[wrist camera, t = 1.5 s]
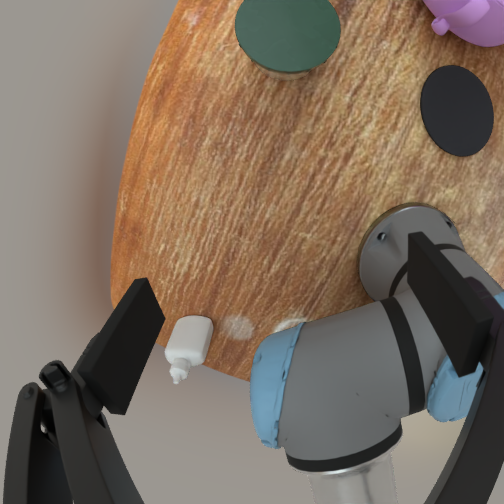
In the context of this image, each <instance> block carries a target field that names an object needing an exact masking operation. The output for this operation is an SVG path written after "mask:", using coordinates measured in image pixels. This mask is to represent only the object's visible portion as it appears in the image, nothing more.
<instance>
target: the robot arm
mask: <svg viewBox="0 0 504 504" xmlns="http://www.w3.org/2000/svg"><path fill="white" fill-rule="evenodd" d="M452 221H453V220H452ZM452 221H451V220H450V219H449V218H448V217H447V215H446V214H445V213H444V212H443V213H442V212H441V211H440V210H438V209H437V208H435V207H433V206H431V205H428V204H425V203H406V204H402V205H399V206H396V207H394V208H392V209H390V210H388V211H387V212H385V213H384V214H382V215H381V216H380V217H379V218H378V219H377V220H376V221H375V222H374V223H373V224H372V225H371V226H370V228H369V229H368V230H367V232H366V234H365V235H364V237H363V239H362V242H361V244H360V247H359V251H358V257H357V269H358V274H359V277H360V280H361V282H362V285H363V287H364V289H365V291H366V292H367V294H368V295H369V296H370V297H371V298H372V299H373V300H374V301H375V302H373V303H370V304H367V305H364V306H361V307H357V308H354V309H351V310H348V311H345V312H342V313H338V314H335V315H332V316H328V317H325V318H322V319H318V320H315V321H311V322H308V323H306V322H302V323H299V324H298V326H295V327H292V328H289V329H286V330H283V331H280V332H277V333H273V334H271V335H269V336H267V337H266V338H265V339H264V340H263V341H262V342H261V343H260V345H259V347H258V349H257V351H256V353H255V356H254V360H253V365H252V370H251V379H250V400H251V411H252V417H253V422H254V426H255V430H256V432H257V435H258V437H259V438H260V439H261V441H262V443H263V444H264V445H265V446H267V447H270V448H272V447H273V448H275V449H279V448H281V447H284V449H285V452H286V455H287V459H288V462H289V465H290V467H291V468H292V469H294V470H295V471H298V472H300V473H303V474H305V475H308V478H309V482H310V485H311V489H312V493H313V497H314V501H315V504H398V500H397V492H396V484H395V477H394V470H393V464H392V457H391V452H392V451H393V450H394V449H395V448H396V446H397V445H398V444H399V442H400V441H401V439H402V436H403V432H402V426H401V418H402V417H405V416H408V415H411V414H414V413H416V412H420V411H422V410H425V409H427V411H428V413H429V414H430V415H431V416H433V418H434V419H435V420H437V421H440V422H447V421H448V420H449V421H456V420H459V419H462V418H464V417H466V416H467V417H466V420H465V422H464V425H463V428H462V430H461V432H460V435H459V437H458V439H457V442H456V444H455V446H454V448H453V450H452V452H451V455H450V457H449V459H448V461H447V463H446V465H445V467H444V469H443V471H442V473H441V475H440V476H439V478H438V480H437V482H436V484H435V486H434V487H433V489H432V491H431V493H430V495H429V496H428V498H427V500H426V501H425V503H424V504H487V501H488V499H489V497H490V495H491V492H492V490H493V488H494V485H495V482H496V480H497V478H498V475H499V473H500V470H501V467H502V464H503V462H504V289H502V287H501V286H500V285H499V284H498V283H497V282H496V281H495V280H494V279H493V278H492V277H491V276H490V275H489V274H488V273H487V272H486V271H485V270H484V269H483V268H482V267H481V266H480V265H479V264H478V263H477V262H476V261H475V260H474V259H473V258H472V257H470V256H469V255H468V254H467V253H466V252H465V249H464V246H463V244H462V241H461V239H460V236H459V234H458V232H457V229H456V227H455V225H454V224H453V222H454V221H453V222H452ZM454 223H455V222H454ZM455 224H456V223H455ZM164 321H165V317H164V314H163V312H162V310H161V308H160V306H159V304H158V301H157V299H156V297H155V295H154V292H153V290H152V288H151V286H150V283H149V281H148V279H147V278H140V279H135V280H134V281H133V283H132V284H131V286H130V287H129V289H128V290H127V292H126V293H125V295H124V296H123V298H122V299H121V301H120V302H119V304H118V305H117V307H116V308H115V310H114V311H113V313H112V314H111V316H110V317H109V319H108V320H107V322H106V324H105V325H104V327H103V328H102V330H101V331H100V333H98V334H96V335H95V336H94V337H93V338H92V339H91V340H90V342H89V344H88V345H87V347H86V349H85V350H84V352H83V355H81V356H80V358H79V360H78V361H77V363H76V365H75V366H74V368H73V370H72V371H71V373H70V372H69V371H68V370H67V368H66V367H65V366H64V364H63V363H62V362H61V361H59V360H56V361H52V362H50V363H48V364H47V365H45V367H44V368H43V369H42V370H41V372H40V374H39V378H40V380H41V381H42V382H43V383H44V385H45V386H46V387H47V388H48V389H43V390H42V389H41V388H40V387H39V386H38V384H37V383H34V382H32V383H29V384H26V385H25V386H24V387H23V388H22V389H21V391H20V392H19V395H18V399H17V403H16V407H15V412H14V417H13V422H12V427H11V433H10V439H9V446H8V453H7V461H6V469H5V480H4V494H3V504H73V501H74V504H144V502H143V500H142V498H141V496H140V494H139V493H138V491H137V489H136V487H135V485H134V483H133V481H132V479H131V477H130V474H129V472H128V470H127V468H126V466H125V464H124V462H123V459H122V457H121V455H120V453H119V450H118V448H117V446H116V443H115V441H114V438H113V436H112V433H111V431H110V428H109V425H108V423H107V420H106V417H105V416H104V414H103V413H102V412H101V410H102V408H103V406H105V407H106V408H107V410H108V411H109V412H110V413H111V414H120V415H125V413H126V411H127V408H128V406H129V404H130V401H131V399H132V396H133V394H134V391H135V389H136V386H137V384H138V382H139V379H140V376H141V374H142V372H143V369H144V367H145V365H146V362H147V360H148V358H149V355H150V353H151V351H152V348H153V346H154V344H155V342H156V339H157V337H158V335H159V332H160V330H161V328H162V326H163V323H164ZM41 425H42V426H43V427H44V428H45V432H42V431H41Z"/></svg>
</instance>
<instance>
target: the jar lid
mask: <svg viewBox="0 0 504 504" xmlns="http://www.w3.org/2000/svg"><path fill="white" fill-rule="evenodd" d="M235 32H236V36H237V39H238V42H239V43H240V44H239V46H240V47H241V48H242V49H243V50H244V52H245V53H246V55H247V56H248V57H249V58H250V59H251V61H252V62H254V63H256V64H257V65H259V66H260V67H262V68H264V69H266V70H268V71H269V72H270V71H271V72H275V73H279V74H288V75H290V74H300V73H305V72H307V73H308V72H309V71H311V70H313V69H315V68H317V67H318V66H320V65H321V64H322V63H325V62H326V60H327V59H328V58H329V57H330V56H331V55H332V53H333V52H334V51H335V49H336V48H337V45H338V43H339V39H340V33H341V28H340V21H339V18H338V15H337V13H336V11H335V9H334V8H333V6H332V5H331V3H330V2H329V1H328V0H244V1H243V3H242V4H241V6H240V7H239V9H238V11H237V15H236V19H235Z"/></svg>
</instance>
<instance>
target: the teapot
mask: <svg viewBox="0 0 504 504" xmlns="http://www.w3.org/2000/svg"><path fill="white" fill-rule="evenodd" d="M423 2H424V3H425V5H426V6H427V7H428V9H429V10H430V11H431V12H432V13H433V15H434V16H435V17H436V19H435V20H434V21H433V22H432V29H433V30H434V32H435V33H437V34H438V35H441V36H442V35H444V34H445V33H446V32H447V30H450V31H452V32H453V33H454V34H456V35H457V36H459V37H460V38H462V39H464V40H466V41H467V42H470V43H472V44H475V45H478V46H482V47H494V46H498V45H502V44H504V0H423Z"/></svg>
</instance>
